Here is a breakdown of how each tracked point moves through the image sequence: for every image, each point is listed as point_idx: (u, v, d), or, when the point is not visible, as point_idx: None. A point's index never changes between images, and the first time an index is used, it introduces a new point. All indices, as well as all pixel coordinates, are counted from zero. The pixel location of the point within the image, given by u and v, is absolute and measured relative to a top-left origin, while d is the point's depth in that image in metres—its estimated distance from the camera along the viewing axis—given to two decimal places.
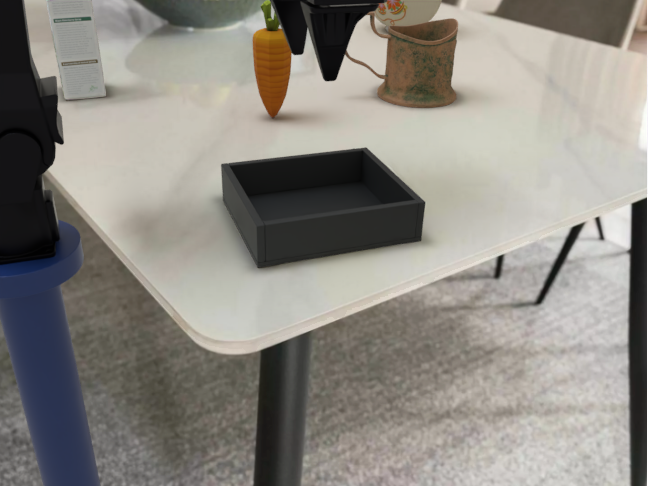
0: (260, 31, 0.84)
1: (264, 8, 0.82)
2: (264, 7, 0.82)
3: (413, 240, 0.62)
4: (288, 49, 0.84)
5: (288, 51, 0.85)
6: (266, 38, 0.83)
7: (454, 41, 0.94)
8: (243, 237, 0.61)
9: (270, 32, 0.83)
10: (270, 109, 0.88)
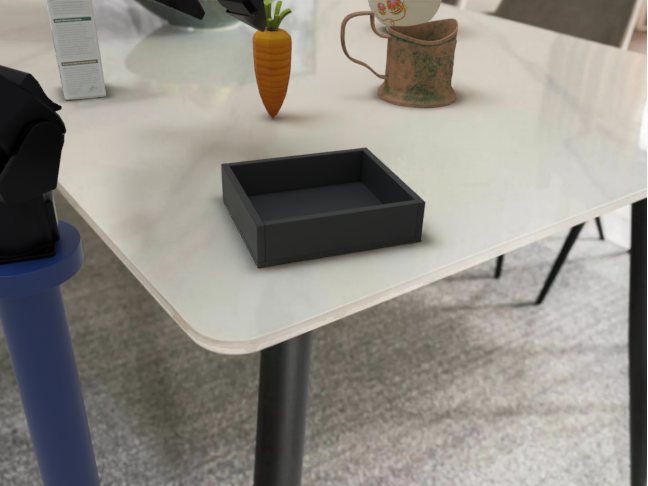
0: (260, 31, 0.84)
1: None
2: None
3: (413, 240, 0.62)
4: (288, 49, 0.84)
5: (288, 51, 0.85)
6: (266, 38, 0.83)
7: (454, 41, 0.94)
8: (243, 237, 0.61)
9: (270, 32, 0.83)
10: (270, 109, 0.88)
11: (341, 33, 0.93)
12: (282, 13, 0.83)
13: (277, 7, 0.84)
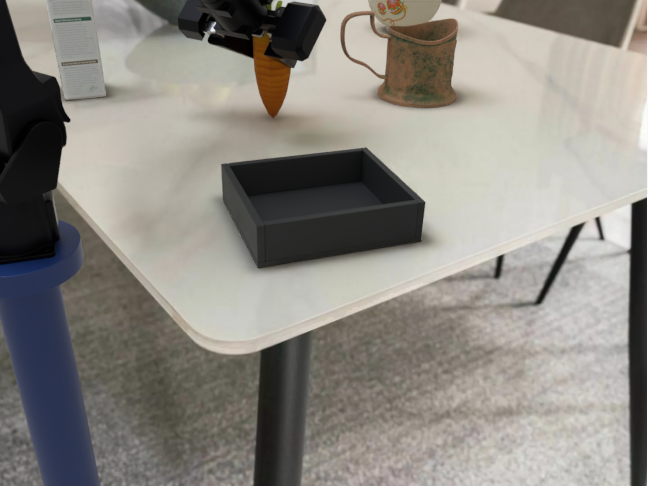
0: None
1: None
2: None
3: (413, 240, 0.62)
4: None
5: None
6: (266, 38, 0.83)
7: (454, 41, 0.94)
8: (243, 237, 0.61)
9: None
10: (270, 109, 0.88)
11: (341, 33, 0.93)
12: None
13: (277, 7, 0.84)
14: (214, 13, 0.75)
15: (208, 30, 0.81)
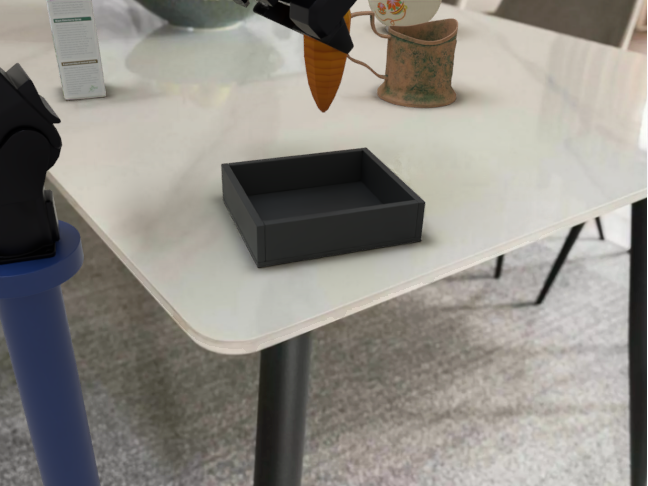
0: None
1: None
2: None
3: (413, 240, 0.62)
4: None
5: None
6: None
7: (454, 41, 0.94)
8: (243, 237, 0.61)
9: None
10: (318, 102, 0.72)
11: None
12: None
13: None
14: None
15: None
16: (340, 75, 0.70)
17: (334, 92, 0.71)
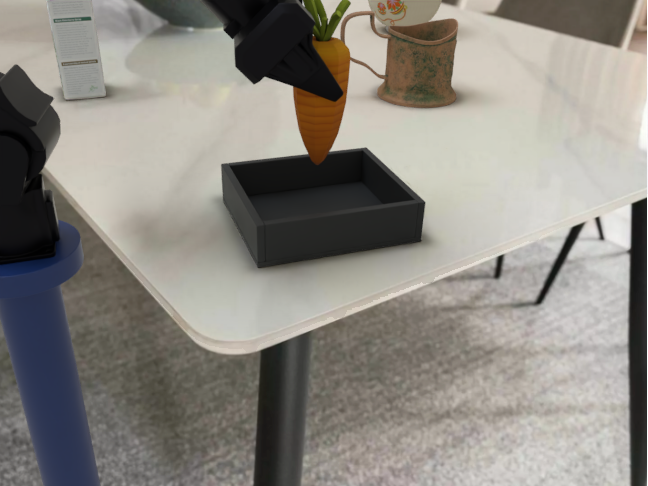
0: None
1: None
2: None
3: (413, 240, 0.62)
4: None
5: None
6: None
7: (454, 41, 0.94)
8: (243, 237, 0.61)
9: None
10: None
11: (341, 33, 0.93)
12: (331, 17, 0.55)
13: (337, 8, 0.56)
14: None
15: None
16: (330, 125, 0.59)
17: (324, 144, 0.60)
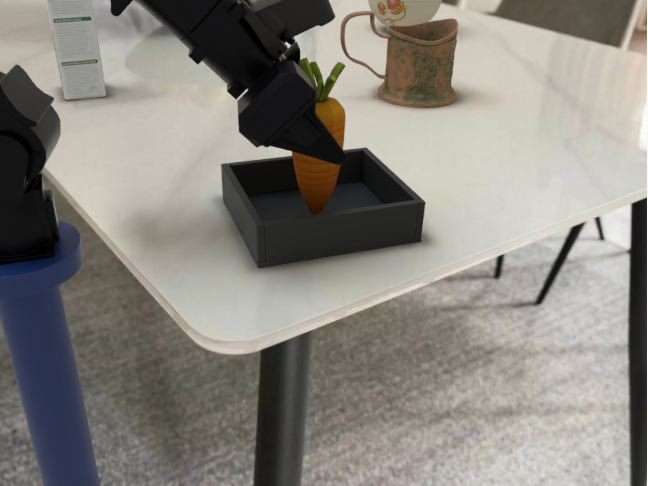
0: None
1: None
2: None
3: (413, 240, 0.62)
4: None
5: None
6: None
7: (454, 41, 0.94)
8: (243, 237, 0.61)
9: None
10: (306, 204, 0.64)
11: (341, 33, 0.93)
12: (326, 80, 0.57)
13: (332, 71, 0.58)
14: None
15: None
16: (327, 180, 0.61)
17: (321, 197, 0.62)
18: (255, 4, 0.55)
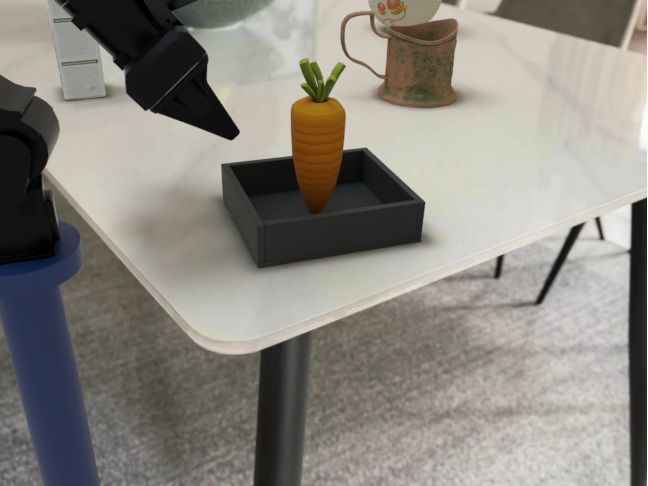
0: (302, 98, 0.60)
1: None
2: None
3: (413, 240, 0.62)
4: (324, 132, 0.58)
5: (325, 134, 0.58)
6: (295, 108, 0.59)
7: (454, 41, 0.94)
8: (243, 237, 0.61)
9: (305, 102, 0.58)
10: (306, 204, 0.64)
11: (341, 33, 0.93)
12: None
13: (333, 71, 0.58)
14: None
15: None
16: (327, 180, 0.61)
17: (322, 197, 0.62)
18: None
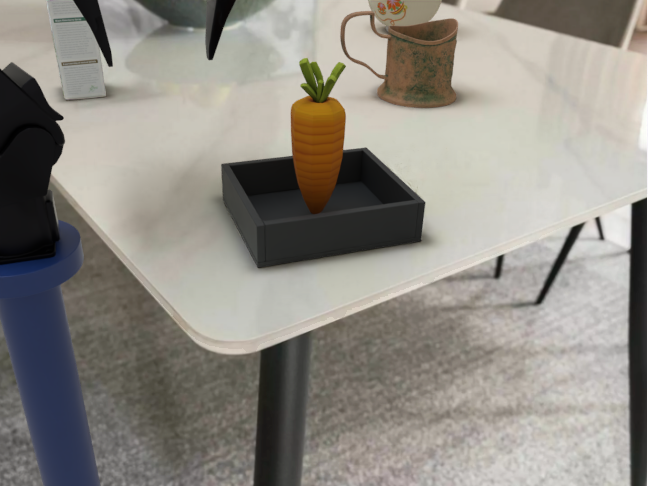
0: (302, 98, 0.60)
1: None
2: None
3: (413, 240, 0.62)
4: (324, 132, 0.58)
5: (325, 134, 0.58)
6: (295, 108, 0.59)
7: (454, 41, 0.94)
8: (243, 237, 0.61)
9: (305, 102, 0.58)
10: (306, 204, 0.64)
11: (341, 33, 0.93)
12: None
13: (333, 71, 0.58)
14: None
15: None
16: (327, 180, 0.61)
17: (322, 197, 0.62)
18: None
